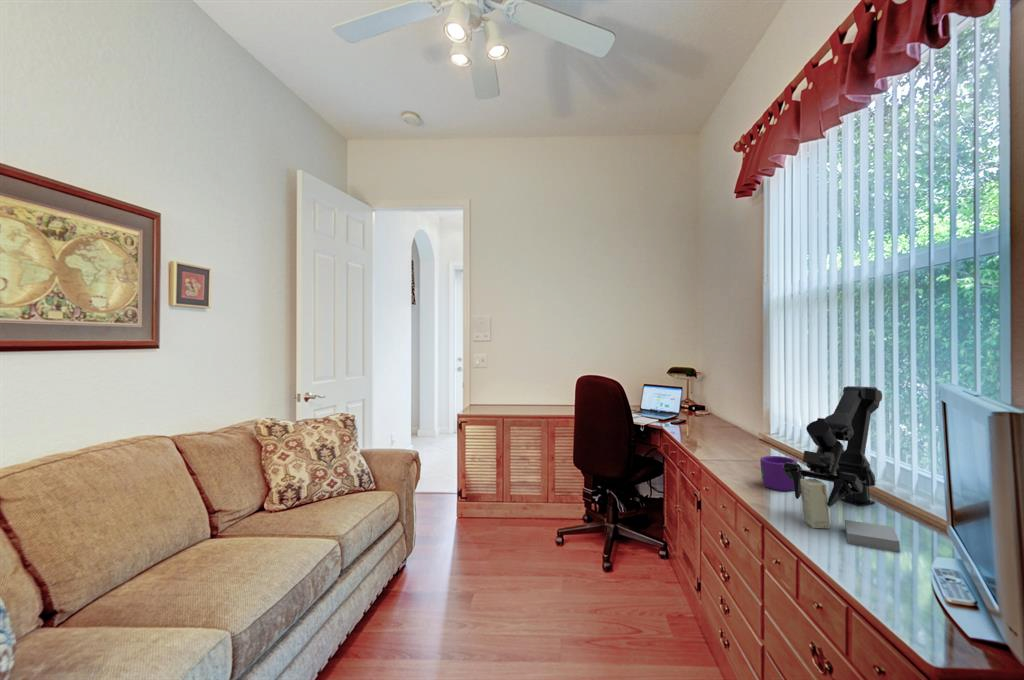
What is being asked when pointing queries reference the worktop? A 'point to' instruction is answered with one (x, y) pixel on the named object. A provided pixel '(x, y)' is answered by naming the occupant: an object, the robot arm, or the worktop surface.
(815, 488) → the skincare box
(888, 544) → the flat gray square pad
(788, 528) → the worktop surface
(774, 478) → the purple oval open container
